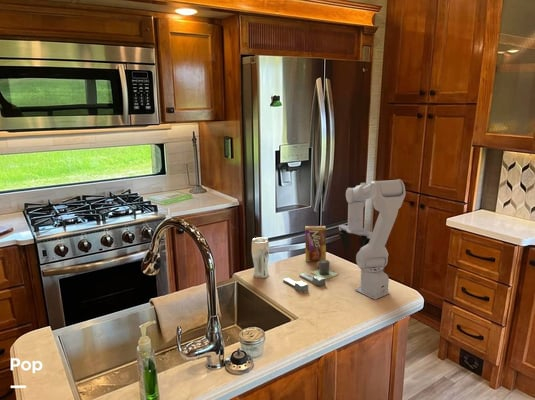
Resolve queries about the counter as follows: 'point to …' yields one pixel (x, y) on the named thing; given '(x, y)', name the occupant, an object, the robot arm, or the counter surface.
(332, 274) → the plate
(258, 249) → the beer glass
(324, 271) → the grey tapered rounded piece
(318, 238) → the candy box
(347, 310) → the counter surface
